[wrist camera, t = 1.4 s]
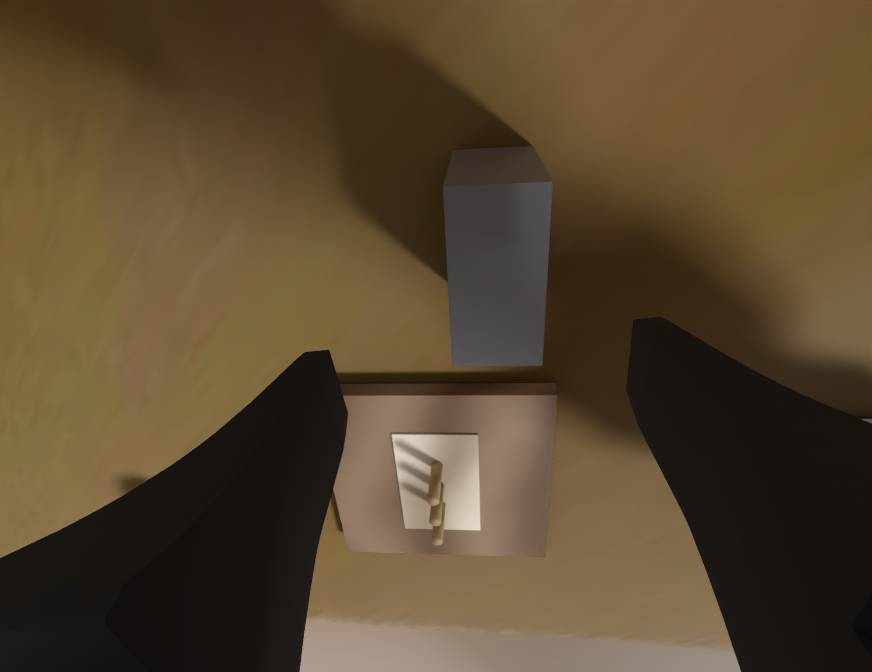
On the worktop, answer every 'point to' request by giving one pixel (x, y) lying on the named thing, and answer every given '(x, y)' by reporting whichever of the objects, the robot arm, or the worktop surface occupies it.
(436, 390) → the board
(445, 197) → the block
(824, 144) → the worktop surface
